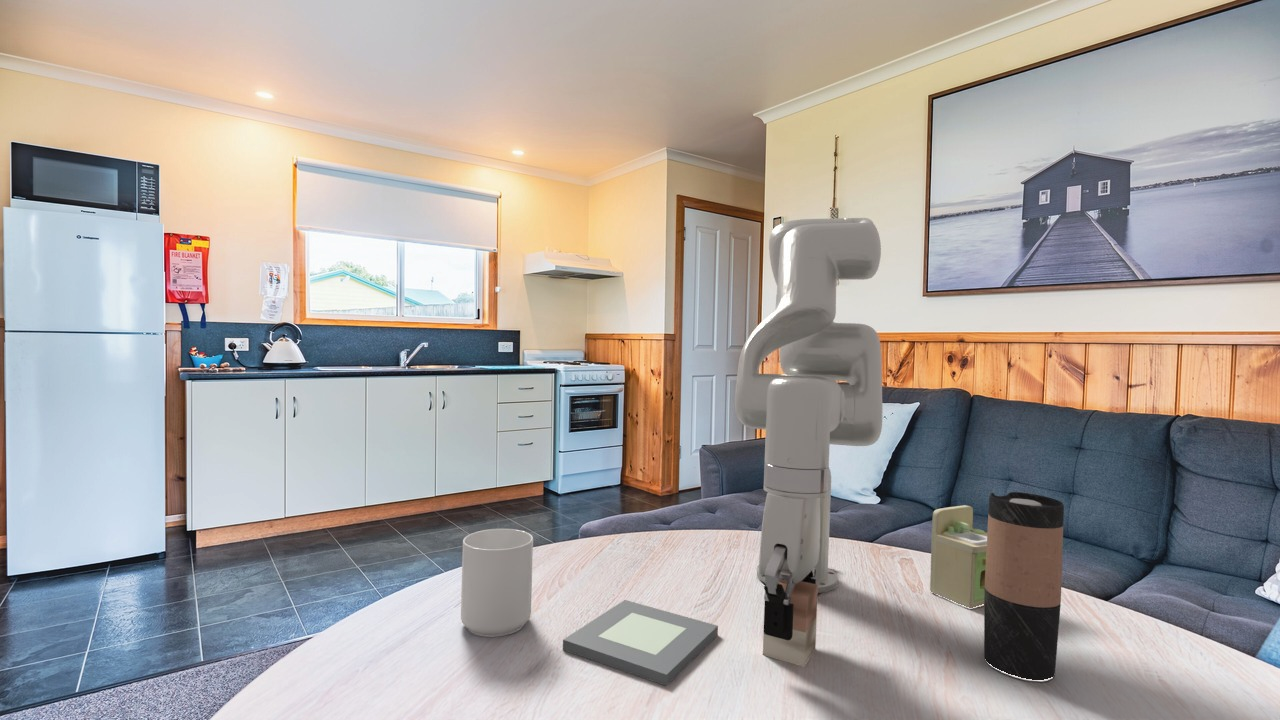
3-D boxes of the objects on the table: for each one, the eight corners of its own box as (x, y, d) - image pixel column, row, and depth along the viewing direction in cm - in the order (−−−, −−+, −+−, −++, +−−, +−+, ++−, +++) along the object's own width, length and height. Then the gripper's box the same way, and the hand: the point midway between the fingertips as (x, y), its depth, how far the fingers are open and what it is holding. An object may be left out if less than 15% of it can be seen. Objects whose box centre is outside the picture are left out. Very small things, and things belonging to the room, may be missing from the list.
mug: (520, 642, 74) (522, 551, 74) (449, 637, 75) (451, 547, 75) (543, 601, 86) (545, 523, 86) (482, 597, 87) (484, 520, 86)
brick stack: (775, 638, 77) (778, 575, 77) (815, 649, 75) (817, 584, 75) (762, 654, 73) (765, 588, 73) (804, 666, 70) (806, 598, 70)
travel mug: (1059, 691, 67) (1067, 510, 66) (979, 670, 71) (986, 499, 70) (1055, 662, 73) (1063, 497, 73) (983, 644, 77) (989, 488, 77)
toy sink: (973, 612, 87) (977, 521, 87) (928, 593, 94) (932, 508, 93) (1010, 603, 91) (1014, 516, 91) (965, 585, 97) (968, 504, 97)
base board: (624, 608, 85) (624, 599, 85) (717, 635, 78) (717, 625, 78) (562, 649, 73) (563, 639, 73) (666, 685, 65) (666, 674, 65)
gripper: (786, 467, 83) (781, 593, 83) (740, 486, 68) (734, 640, 68) (843, 473, 79) (838, 606, 79) (807, 496, 64) (801, 659, 64)
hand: (790, 621), depth 73 cm, fingers open, 9 cm apart
